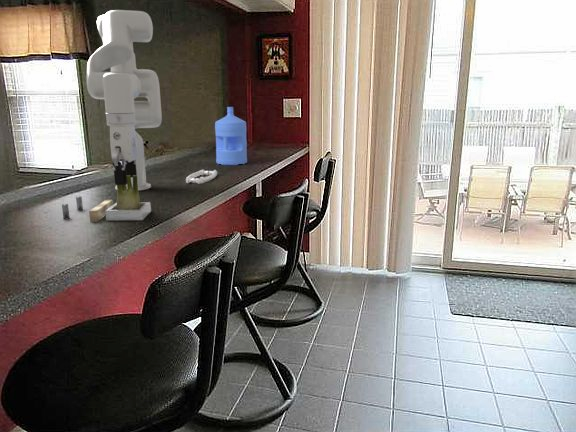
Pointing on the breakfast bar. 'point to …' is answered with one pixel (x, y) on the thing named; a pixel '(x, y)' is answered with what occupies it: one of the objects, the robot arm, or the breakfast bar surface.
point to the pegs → (66, 209)
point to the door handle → (202, 180)
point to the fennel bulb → (128, 195)
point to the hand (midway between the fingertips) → (126, 180)
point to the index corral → (128, 212)
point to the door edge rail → (99, 210)
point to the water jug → (231, 140)
